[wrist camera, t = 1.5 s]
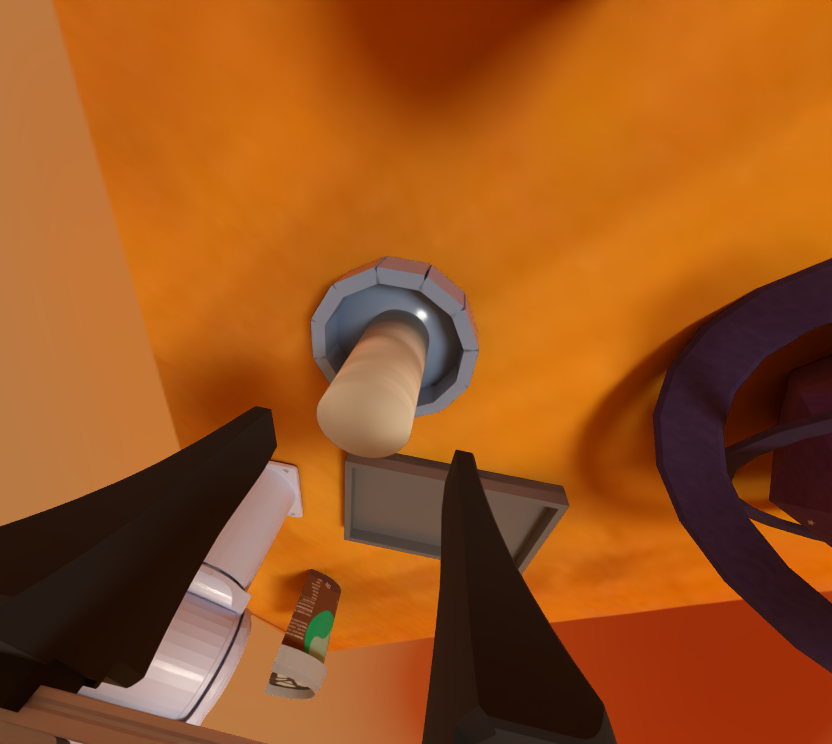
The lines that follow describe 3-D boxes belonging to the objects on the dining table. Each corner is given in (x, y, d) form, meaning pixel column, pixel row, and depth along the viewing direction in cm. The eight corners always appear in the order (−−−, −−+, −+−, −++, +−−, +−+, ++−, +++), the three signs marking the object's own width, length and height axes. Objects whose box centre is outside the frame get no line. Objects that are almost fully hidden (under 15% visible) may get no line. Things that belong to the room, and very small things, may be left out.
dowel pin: (366, 360, 20) (318, 448, 14) (369, 304, 18) (314, 375, 12) (424, 371, 20) (405, 465, 14) (434, 315, 18) (417, 395, 11)
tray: (349, 522, 32) (344, 539, 31) (351, 444, 26) (344, 461, 24) (517, 557, 32) (520, 576, 30) (563, 486, 25) (569, 506, 24)
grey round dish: (329, 381, 22) (315, 402, 20) (325, 245, 17) (306, 254, 15) (457, 406, 22) (456, 429, 20) (492, 274, 17) (497, 287, 15)
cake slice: (339, 611, 46) (311, 707, 38) (300, 599, 45) (263, 693, 37) (358, 578, 39) (329, 686, 31) (312, 564, 39) (270, 669, 30)
